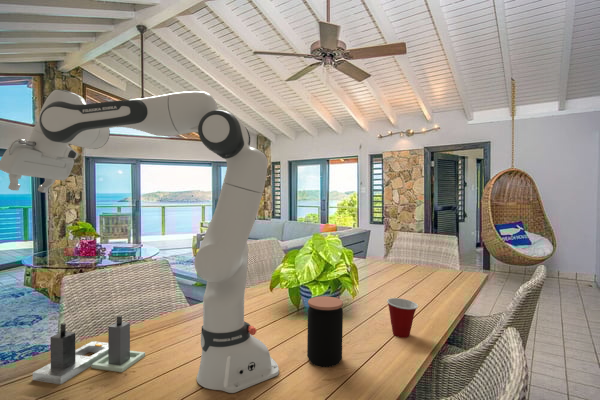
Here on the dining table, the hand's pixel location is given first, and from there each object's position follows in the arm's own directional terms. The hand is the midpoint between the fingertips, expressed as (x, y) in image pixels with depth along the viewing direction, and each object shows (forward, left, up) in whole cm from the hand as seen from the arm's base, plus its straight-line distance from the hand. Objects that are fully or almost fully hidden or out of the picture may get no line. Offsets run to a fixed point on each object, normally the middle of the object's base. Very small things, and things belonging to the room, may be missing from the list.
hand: (28, 190), depth 98 cm
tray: (-22, +7, -51) cm, 56 cm away
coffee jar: (-78, +34, -51) cm, 99 cm away
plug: (-22, +7, -50) cm, 55 cm away
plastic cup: (-113, +31, -51) cm, 127 cm away
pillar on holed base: (-12, +4, -51) cm, 52 cm away
